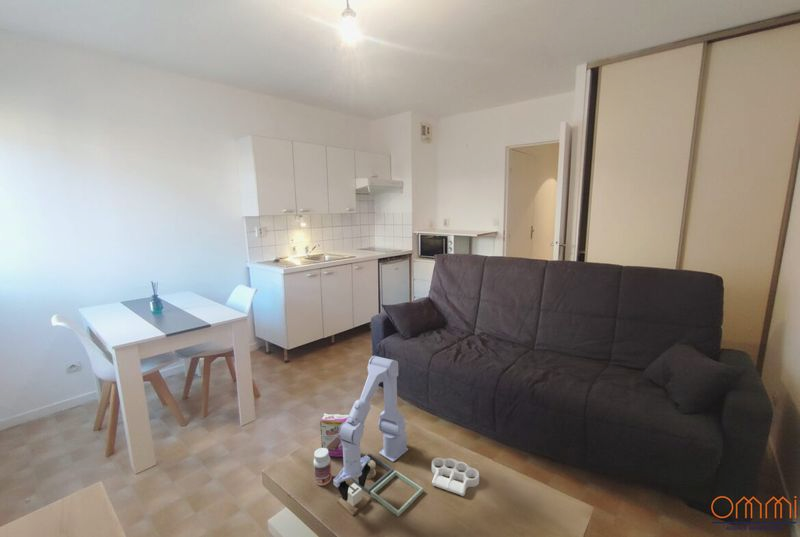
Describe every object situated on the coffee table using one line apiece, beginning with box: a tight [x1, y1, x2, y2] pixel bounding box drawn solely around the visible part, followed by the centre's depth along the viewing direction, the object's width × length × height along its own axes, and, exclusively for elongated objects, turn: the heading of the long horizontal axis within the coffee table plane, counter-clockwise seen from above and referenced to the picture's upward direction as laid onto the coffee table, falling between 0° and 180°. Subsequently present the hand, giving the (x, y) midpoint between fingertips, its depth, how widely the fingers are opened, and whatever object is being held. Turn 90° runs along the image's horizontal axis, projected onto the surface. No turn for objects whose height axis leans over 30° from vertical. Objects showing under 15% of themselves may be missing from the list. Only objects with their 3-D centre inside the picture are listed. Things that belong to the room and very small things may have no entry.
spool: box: [366, 459, 377, 480], centre depth 131 cm, size 5×5×4 cm
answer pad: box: [336, 491, 371, 516], centre depth 119 cm, size 8×8×1 cm
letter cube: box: [347, 482, 363, 506], centre depth 119 cm, size 4×4×4 cm
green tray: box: [369, 470, 424, 517], centre depth 122 cm, size 13×13×2 cm
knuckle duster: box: [431, 457, 480, 497], centre depth 129 cm, size 3×18×15 cm
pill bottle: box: [313, 447, 333, 486], centre depth 128 cm, size 6×6×11 cm
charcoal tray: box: [349, 452, 395, 495], centre depth 131 cm, size 13×13×2 cm
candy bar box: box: [319, 413, 349, 458], centre depth 141 cm, size 11×5×16 cm, turn 85°
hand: (353, 491), depth 119 cm, fingers open, 7 cm apart
